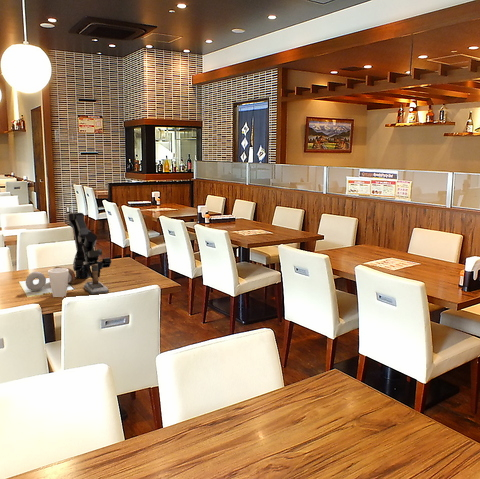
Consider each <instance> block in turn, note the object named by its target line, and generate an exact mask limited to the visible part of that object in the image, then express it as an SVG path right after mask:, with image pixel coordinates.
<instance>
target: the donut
mask: <svg viewBox="0 0 480 479" xmlns="http://www.w3.org/2000/svg"><path fill="white" fill-rule="evenodd" d="M36 279H38V283H36V284H35V283H34V280H36ZM46 282H47V278H46V276H45V274H43V273H42V272H40V271H33V272H31V273H29V274H28V276H27V277H26V279H25V286H26V287H27V289H29V291H32V292H37V291H38V292H39V291H40V290H42V289H43V288H44V287H45V286H46Z"/></svg>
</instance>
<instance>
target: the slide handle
mask: <svg viewBox="0 0 480 479" xmlns="http://www.w3.org/2000/svg"><path fill="white" fill-rule="evenodd" d="M91 272H92V275H93V279H92V278H91V279H92V281H91V282H92V283H89V286H90V287H91V288H99V287H102V284H103V283H102V282H101V281H99V278H98V264H93V265H92V266H91ZM100 282H101V283H102V284H101V283H100Z"/></svg>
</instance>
